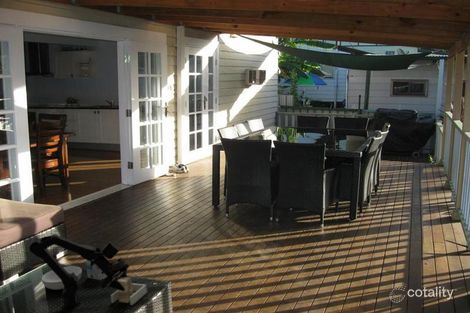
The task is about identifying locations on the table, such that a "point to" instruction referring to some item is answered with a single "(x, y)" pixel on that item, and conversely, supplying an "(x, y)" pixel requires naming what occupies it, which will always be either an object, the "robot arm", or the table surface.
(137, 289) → the trap trough
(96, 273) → the light bulb box
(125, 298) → the maple block
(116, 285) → the robot arm
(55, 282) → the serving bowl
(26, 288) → the table surface
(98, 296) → the table surface
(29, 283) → the table surface
